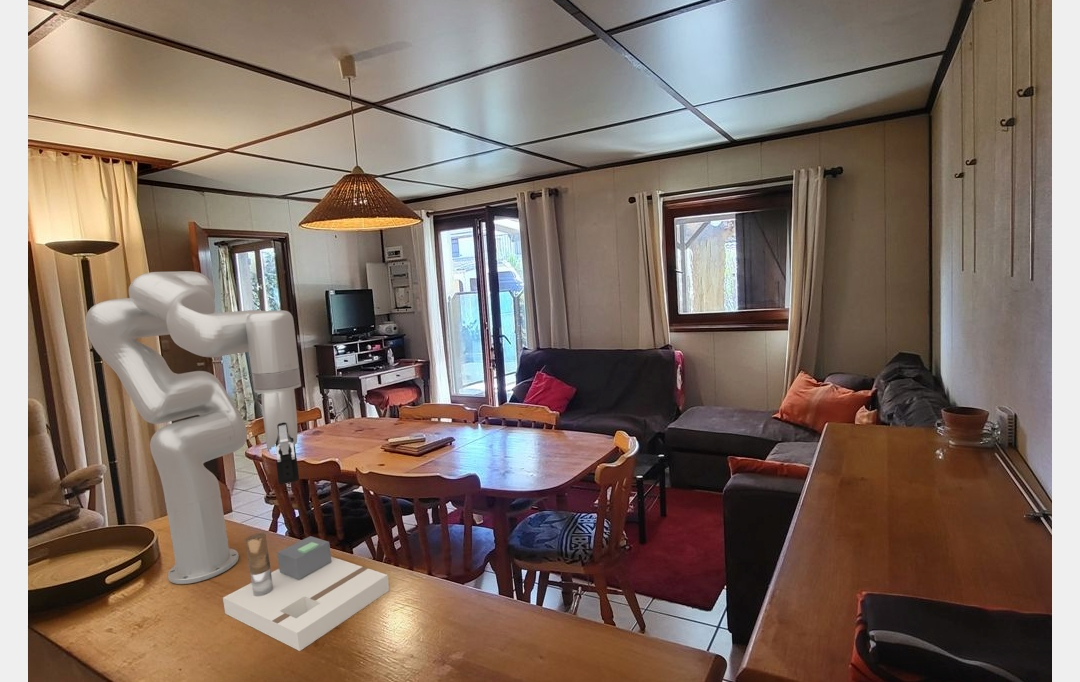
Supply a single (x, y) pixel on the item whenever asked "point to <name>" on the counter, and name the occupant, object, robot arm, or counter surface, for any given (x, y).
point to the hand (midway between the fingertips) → (288, 473)
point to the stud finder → (304, 557)
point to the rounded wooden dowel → (259, 564)
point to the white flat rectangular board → (307, 602)
